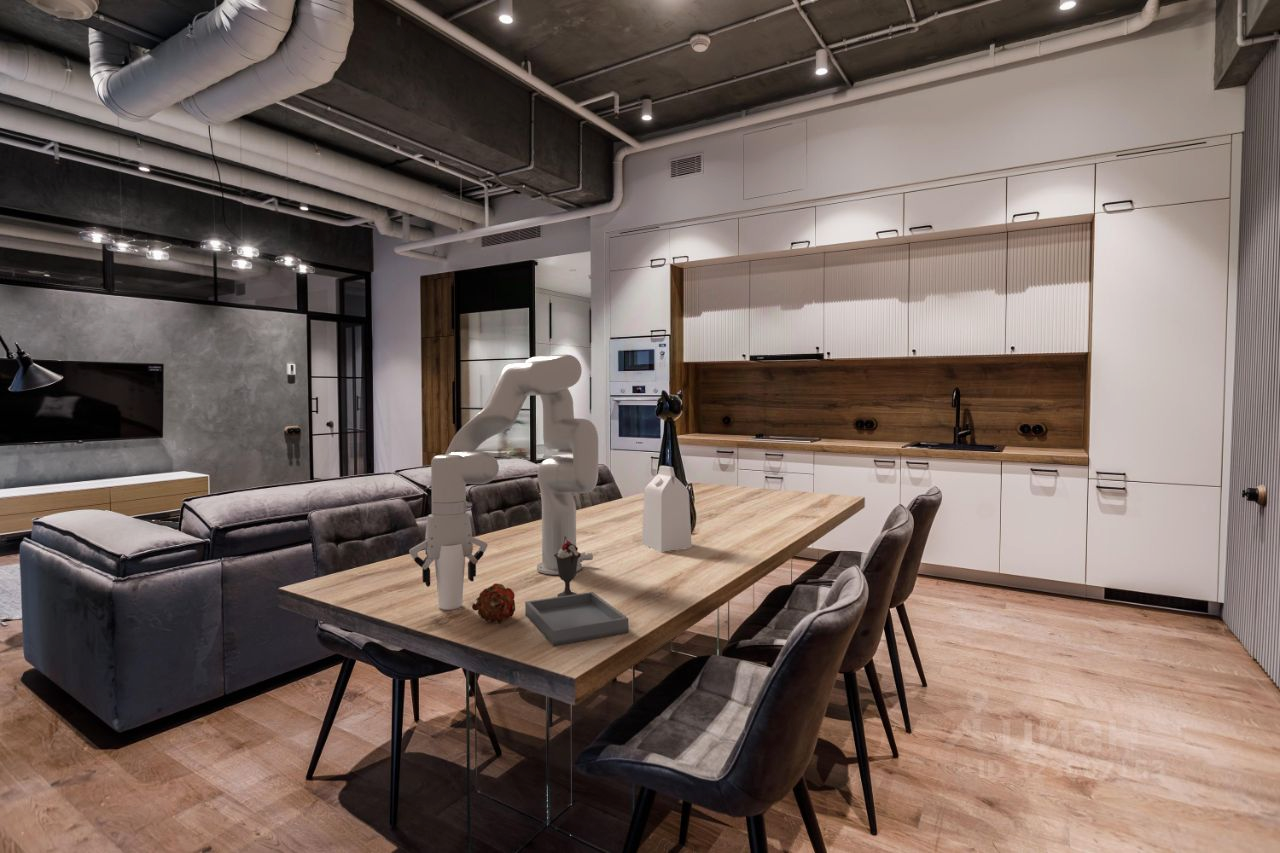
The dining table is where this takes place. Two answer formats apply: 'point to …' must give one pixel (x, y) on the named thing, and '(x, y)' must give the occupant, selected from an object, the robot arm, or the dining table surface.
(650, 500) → the milk
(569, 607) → the tray
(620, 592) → the dining table surface
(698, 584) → the dining table surface
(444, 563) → the drinking glass
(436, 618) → the dining table surface
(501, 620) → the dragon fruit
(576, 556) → the sundae
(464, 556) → the robot arm
